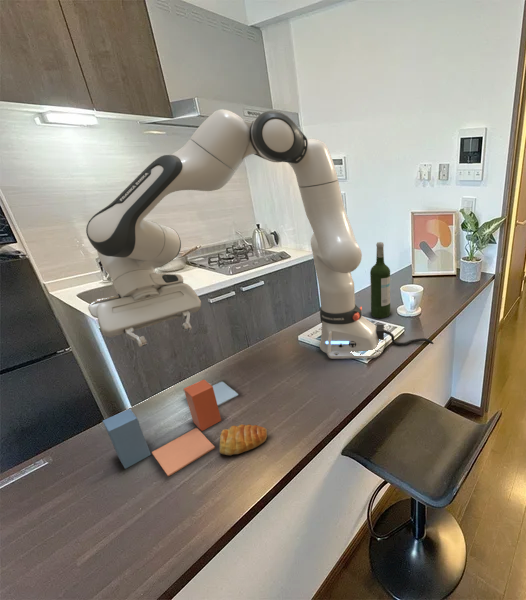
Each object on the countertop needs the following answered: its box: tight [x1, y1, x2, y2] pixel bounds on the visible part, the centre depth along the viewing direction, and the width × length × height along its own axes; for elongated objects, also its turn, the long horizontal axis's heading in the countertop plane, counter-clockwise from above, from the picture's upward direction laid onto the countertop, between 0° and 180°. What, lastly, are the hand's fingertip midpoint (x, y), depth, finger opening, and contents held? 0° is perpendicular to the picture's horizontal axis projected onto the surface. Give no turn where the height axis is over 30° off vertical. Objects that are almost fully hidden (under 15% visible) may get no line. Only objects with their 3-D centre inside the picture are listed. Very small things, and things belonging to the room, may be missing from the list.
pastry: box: [219, 423, 268, 456], centre depth 72 cm, size 9×7×4 cm
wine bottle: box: [369, 241, 391, 319], centre depth 129 cm, size 8×8×30 cm
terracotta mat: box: [151, 427, 216, 478], centre depth 70 cm, size 9×9×1 cm
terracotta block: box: [183, 379, 222, 432], centre depth 76 cm, size 4×4×10 cm
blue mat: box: [212, 380, 239, 407], centre depth 86 cm, size 9×9×1 cm
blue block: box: [102, 408, 152, 470], centre depth 67 cm, size 4×4×10 cm
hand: (166, 337), depth 78 cm, fingers open, 8 cm apart
